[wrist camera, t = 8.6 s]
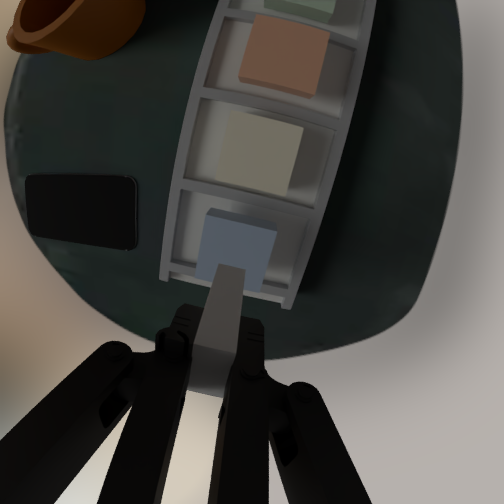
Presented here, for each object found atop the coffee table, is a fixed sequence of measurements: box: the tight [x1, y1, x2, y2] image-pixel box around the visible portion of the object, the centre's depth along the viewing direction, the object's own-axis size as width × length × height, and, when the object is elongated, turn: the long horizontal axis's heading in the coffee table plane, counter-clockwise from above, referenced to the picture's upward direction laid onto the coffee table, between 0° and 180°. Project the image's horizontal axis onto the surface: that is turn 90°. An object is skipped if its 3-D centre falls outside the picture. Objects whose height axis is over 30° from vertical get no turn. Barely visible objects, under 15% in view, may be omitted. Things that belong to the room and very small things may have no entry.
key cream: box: [215, 110, 304, 197], centre depth 18 cm, size 5×5×2 cm
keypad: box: [159, 0, 376, 310], centre depth 19 cm, size 31×12×3 cm, turn 166°
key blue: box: [194, 207, 277, 293], centre depth 20 cm, size 5×5×2 cm
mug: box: [6, 0, 146, 61], centre depth 12 cm, size 9×12×9 cm
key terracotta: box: [238, 14, 330, 99], centre depth 15 cm, size 5×5×2 cm
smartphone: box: [25, 173, 137, 251], centre depth 24 cm, size 7×1×15 cm
